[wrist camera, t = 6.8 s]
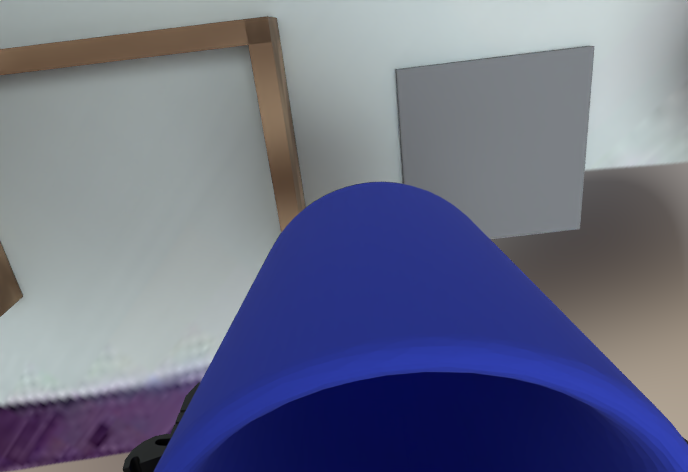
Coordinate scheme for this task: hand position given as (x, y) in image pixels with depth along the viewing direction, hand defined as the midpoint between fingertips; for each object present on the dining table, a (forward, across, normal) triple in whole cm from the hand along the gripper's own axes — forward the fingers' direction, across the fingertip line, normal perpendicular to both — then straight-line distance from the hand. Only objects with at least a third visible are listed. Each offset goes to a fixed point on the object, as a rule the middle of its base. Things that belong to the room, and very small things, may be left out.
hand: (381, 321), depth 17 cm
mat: (+18, +9, +1) cm, 20 cm away
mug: (0, +1, 0) cm, 1 cm away
